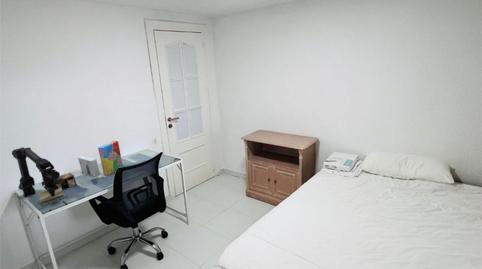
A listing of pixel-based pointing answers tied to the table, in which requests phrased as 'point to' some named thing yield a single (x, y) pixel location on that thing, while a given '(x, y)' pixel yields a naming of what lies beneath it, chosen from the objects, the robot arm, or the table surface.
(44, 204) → the pad
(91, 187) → the table surface
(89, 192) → the table surface
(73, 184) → the brown storage crate
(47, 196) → the block
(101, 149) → the game box
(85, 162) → the skincare box
